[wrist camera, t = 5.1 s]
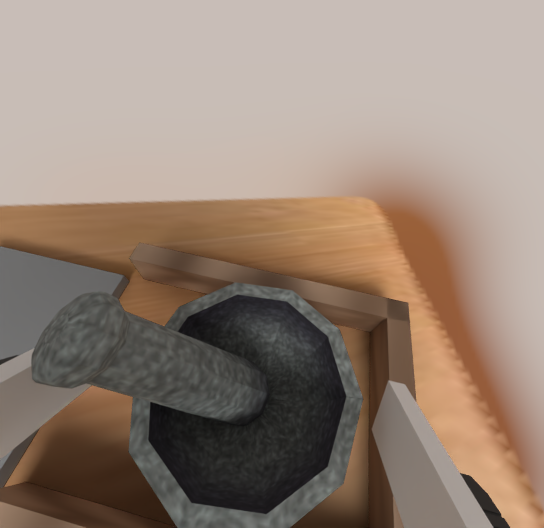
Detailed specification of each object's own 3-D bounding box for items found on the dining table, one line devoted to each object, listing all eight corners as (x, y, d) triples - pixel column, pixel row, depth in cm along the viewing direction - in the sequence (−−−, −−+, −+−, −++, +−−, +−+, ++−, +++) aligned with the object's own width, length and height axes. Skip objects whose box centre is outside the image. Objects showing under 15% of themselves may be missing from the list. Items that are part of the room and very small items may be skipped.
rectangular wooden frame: (4, 519, 13) (-56, 541, 10) (152, 264, 22) (139, 242, 19) (400, 642, 12) (440, 701, 9) (388, 318, 20) (408, 302, 18)
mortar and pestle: (325, 338, 19) (405, 238, 9) (323, 505, 14) (505, 698, 4) (177, 317, 19) (97, 195, 9) (123, 476, 14) (-188, 590, 4)
